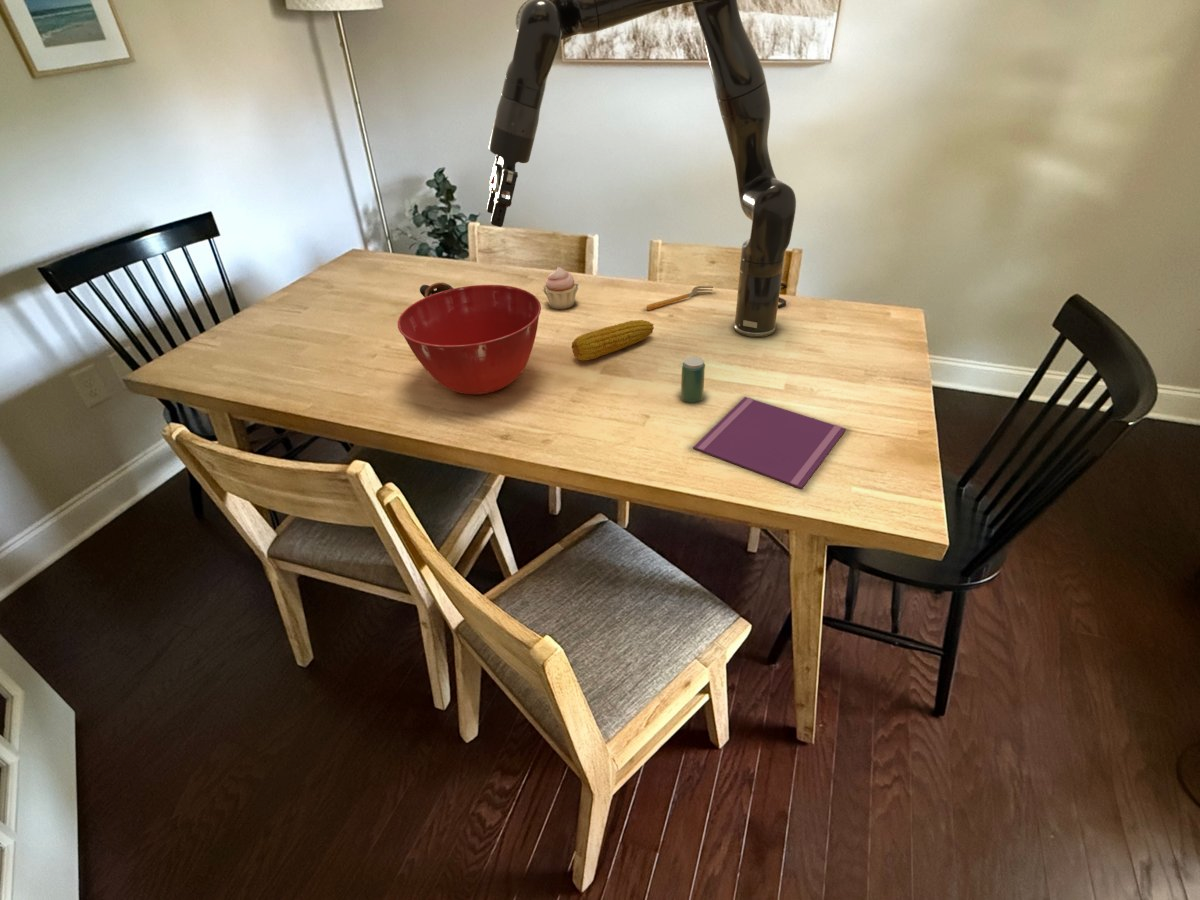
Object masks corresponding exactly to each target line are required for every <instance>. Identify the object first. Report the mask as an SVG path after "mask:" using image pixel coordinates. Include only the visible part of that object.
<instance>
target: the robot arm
mask: <svg viewBox="0 0 1200 900" xmlns="http://www.w3.org/2000/svg"><path fill="white" fill-rule="evenodd" d="M689 3H691V4H692V7H693V10H694V12H695V15H696V18H697V21H698V24H699V27H700V31H701V33H702V38H703V42H704V46H705V49H706V56H707V61H708V64H709V70H710V73H711V77H712V82H713V86H714V91H715V96H716V100H717V104H718V105H717V106H718V109H719V113H720V116H721V120H722V123H723V126H724V130H725V135H726V139H727V142H728V146H729V149H730V151H731V155H732V159H733V163H734V169H735V175H736V182H737V190H738V191H737V192H738V199H739V204H740V207H741V210H742V212H743V213H744V215H745V216H746V217H747V218H748V219H749V220H750V221H751V229H750V236H749V239H746V240H745V241H744V242H743V243H742V245H741V251H740V252H741V253H740V263H739V273H738V274H739V275H738V284H737V297H736V307H735V318H734V319H735V320H734V323H733V329H734V331H735V332H737V333H738V334H739V335H742V336H745V337H750V338H763V337H764V338H765V337H768V336H770V335H773V334H774V333H775V331H776V327H777V326H776V325H777V323H776V322H777V314H778V309H779V308H782V307H784V306H786V304H787V301H786V299H784V298H782V297H780V292H781V287H783V288H787V284H786V283H784V282H782V277H783V269H784V263H785V262H784V261H785V254H786V251H787V249H788V247H789V245H790V242H791V239H792V235H793V229H794V228H793V227H794V223H795V216H796V209H797V198H796V193H795V191H794V189H793V188H792V187H791V186H790V185H788V184H787V183H785V182H783V181H782V180H779V179H778V178H777V176H776V174H775V172H774V169H773V165H772V161H771V158H770V152H769V146H768V144H769V143H768V140H769V139H768V138H769V130H770V123H771V101H770V94H769V91H768V90H769V89H768V85H767V80H766V75H765V71H764V67H763V65H762V63H761V61H760V58H759V56H758V53H757V51H756V49H755V47H754V45H753V43H752V41H751V40H750V37H749V35H748V33H747V31H746V29H745V27H744V24H743V21H742V17H741V15H740V11H739V4H738V0H525V1H524V2H523V3H522V4H521V6H519V8H518V9H517V12H516V15H515V29H516V32H517V37H516V42H515V46H514V51H513V56H512V59H511V61H510V63H509V64H508V66H507V69H506V73H505V76H504V81H503V86H502V90H501V95H500V99H499V101H498V104H497V107H496V111H495V115H494V121H493V125H492V130H491V134H490V138H489V144H488V150H489V152H491V153H492V154H493V155H495V157H494V159H495V160H494V163H493V167H492V171H491V176H490V180H489V191H490V193H489V196H488V202H487V204H486V205H487V206H486V211H487V213H489V214H491V218H490V224H491V225H492V226H495V227H499V228H502V227H503V226H504V223H505V217H506V213H507V209H508V208H509V207H511V206H512V200H513V196H514V191H515V187H516V183H517V179H518V178H519V174H518V173H519V172H517V171H516V165H517V163H520V164H527V163H529V161H530V159H531V154H532V152H533V151H532V150H533V146H534V143H535V139H536V134H537V130H538V126H539V121H540V112H541V108H542V103H543V101H544V95H545V91H546V86H547V81H548V77H549V74H550V72H551V70H552V66H553V65H554V62H555V58H556V56H557V53H558V51H559V47H560V43H561V41H563V40H565V39H568V38H571V37H574V36H576V35H577V36H578V35H591V34H594V33H598V32H601V31H604V30H607V29H609V28H613V27H615V26H618V25H622V24H626V23H628V22H630V21H633V20H636V19H639V18H641V17H644V16H647V15H649V14H652V13H656V12H659V11H661V10H664V9H668V8H672V7H676V6H680V5H684V4H689ZM503 196H505V197H503ZM779 301H780V302H782V303H779Z"/></svg>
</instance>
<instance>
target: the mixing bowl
mask: <svg viewBox="0 0 1200 900" xmlns="http://www.w3.org/2000/svg"><path fill="white" fill-rule="evenodd" d="M453 288H454V287H453ZM541 312H542V305H541V302H540V300H539V299H538V297H536V295H534V294H533V293H531V291H527V290H525V289H522V288H520V287H515V286H511V285H503V284H476V285H466V286H460V287H455V288H454V289H450V290H446V291H442V292H439V293H436V294H433V295H430V296H428V297H423V298H421V299H419V300H417V301H415V302H413V303H412V304H411V305H409V306H408V307H406V308H405V310H403V311H402V312H401V314H400V315H399V317H398V320H397V330H398V332H399V333H400V335H402V336H403V338H404V339H405V341H406V343H407V345H408V347H409V348H410V350H411V351H412V353H413V354H414V356H415V357H416V359H417V360H418V361H419V363H420V364H421V366H422V367H423V368H424V370H426V372H427V373H428V374H429V375H430V376H431V377H432V378H433V380H435V381H436V382H437V383H438V384H440V385H441V386H443V387H445V388H446V389H448V390H450V391H453V392H455V393H460V394H464V395H471V396H481V395H488V394H492V393H494V392H498V391H500V390H503V389H504V388H506V387H507V386H509V385H510V384H511V383H513V382H514V381H515V380H516V379H518V378H519V376H520V375H521V374H522V373H523V372H524V370H525V368H526V366H527V364H528V362H529V359H530V356H531V354H532V351H533V347H534V344H535V340H536V336H537V332H538V326H539V325H538V324H539V317H540V315H541Z"/></svg>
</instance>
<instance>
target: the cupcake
mask: <svg viewBox="0 0 1200 900" xmlns="http://www.w3.org/2000/svg"><path fill="white" fill-rule="evenodd" d="M544 284H545V285H542V287H543V289H542V292H543V293H544V294H545V296H546V298H547V301H548V304H549V306H550V307H551V308H552V309H555V310H566V309H570V308H572V307H573V306H574V305H575V301H576V294H577V292H578V290H579V283H576V282H575V279H574V276H573V275H572V273H570V272H569V271H567V270H565V269H563V268H561V267H559V266H557V267H556V269H555V271H553V272H551V273H549V274H548V276H547V278H546V279H545V281H544Z"/></svg>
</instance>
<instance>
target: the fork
mask: <svg viewBox="0 0 1200 900" xmlns="http://www.w3.org/2000/svg"><path fill="white" fill-rule="evenodd" d="M713 289H714V286H708V285H707V286H706V285H696V286H694V287H693V288H692V289H691V291H690V293H686V294H682V295H678V296H674V297H670V298H667V299H664V300H660V301H655V302H652V303H649V304H646V306H645V308H646V310H647V311H651V310H654V309H657V308H661V307H664V306H666V305H670V304H672V303H673V304H674V303H675V302H679V301H682V300H684V299H688V298H690V297H692V296H696V295H702V294H712V293H713V292H712V291H713Z"/></svg>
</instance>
